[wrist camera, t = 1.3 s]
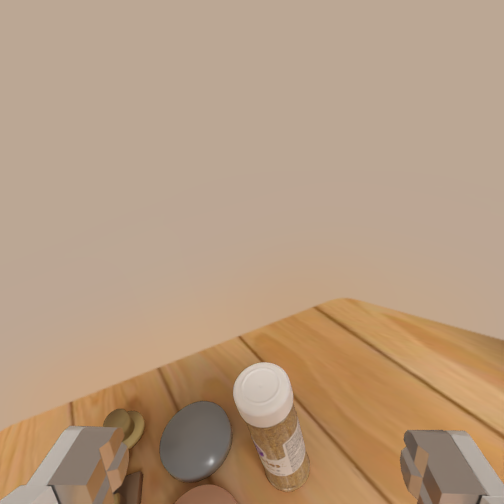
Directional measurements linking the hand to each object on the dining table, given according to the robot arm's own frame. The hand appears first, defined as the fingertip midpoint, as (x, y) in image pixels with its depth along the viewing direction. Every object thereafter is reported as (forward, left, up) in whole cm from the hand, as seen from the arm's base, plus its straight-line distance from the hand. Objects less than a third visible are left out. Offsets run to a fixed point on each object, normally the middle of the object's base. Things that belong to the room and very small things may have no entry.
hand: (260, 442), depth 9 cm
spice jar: (0, -10, -25) cm, 27 cm away
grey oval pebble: (+9, -16, -25) cm, 31 cm away
